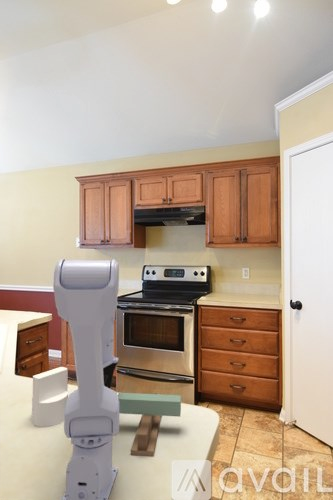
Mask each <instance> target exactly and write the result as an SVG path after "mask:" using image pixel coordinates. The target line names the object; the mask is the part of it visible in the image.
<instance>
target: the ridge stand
mask: <svg viewBox="0 0 333 500" xmlns="http://www.w3.org/2000/svg"><path fill="white" fill-rule="evenodd" d="M149 394H158V393H157V392H150V393H149ZM161 420H162V416H159V415H141V417H140V421H139V423H138V427H137V429H136V432H135V435H134V438H133V442H132V444H131V448H130V455H131V456H141V457H143V456H144V457H154V456H155V450H156V449H155V448H156V445H157V440H158V436H159V429H160V426H161Z"/></svg>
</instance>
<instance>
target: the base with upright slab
mask: <svg viewBox="0 0 333 500" xmlns="http://www.w3.org/2000/svg"><path fill="white" fill-rule="evenodd" d="M68 370H69V369H68V368H67V367H64V366H59V367H56V368H53V369H50V370H47V371H44V372H41V373H39V374H35V375H32V398H31V423H32V425H34V426H35V427H39V428H47V427H54V426H57V425H59V424H61V423H64V419H65V417H64V412H65V406H66V402H67V399H68V397H69V391H68V387H69V385H68V381H69V380H68V379H69V377H68V376H69V375H68V374H69V373H68V372H69V371H68Z"/></svg>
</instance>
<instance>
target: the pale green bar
mask: <svg viewBox="0 0 333 500" xmlns="http://www.w3.org/2000/svg"><path fill="white" fill-rule="evenodd" d="M117 395H118V400H119V406H120V408H119V415H121V414H123V415H125V414H126V415H141V416H142V415H159V416H161V417H163V416H164V417H181V411H182V395H180V394H179V395H178V394H159V393H157V394H150V393H137V392H136V393H134V392H118V393H117Z"/></svg>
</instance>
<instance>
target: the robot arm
mask: <svg viewBox="0 0 333 500" xmlns="http://www.w3.org/2000/svg"><path fill="white" fill-rule="evenodd" d="M119 275H120V265H119V262H118V261H117V260H116V259H113V258H112V259H111V260H108V259H107V260H105V259H101V260H100V259H97V260H96V259H65V258H61V259H59V261H58V262H57V263H56V264H55V267H54V272H53V295H54V303H55V308H56V309H57V315H58V317H60V318H62V319H63V320H65V321H66V322H67V323H68V325H69V331H70V334H71V339H72V348H73V349H72V350H73V357H74V366H75V374H76V375H75V376H76V384H77V389H76V390H74V391H72V392H71V393H69V394H68V399H67V402H66V406H65V412H64V417H65V419H64V421H63V432H64V435H65V436H66V438H68V439H70V444H71V445H72V453H71V457H70V459H69V462H68V463H67V466H66V470H65V492H64V493H63V496H62V498H61V499H60V500H109V497H110V495H111V491H112V489H113V486H114V482H115V480H116V477H117V474H118V471H119V470H118V469H119V468H118V467H114V466H113V436H117V434H118V433H119V430H120V413H119V408H120V406H119V400H118V393H117V391H115V390H114V389H111V388H112V387H111V386H112V382H113V377H114V374H115V371H116V367H117V365H118V363H119V357H116V356H115V355H114V354H115V353H114V352H115V349H114V348H115V346H114V345H115V323H114V322H115V320H116V312H117V311H116V310H117V307H118V295H119V285H120V283H119V282H120V276H119Z"/></svg>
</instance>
